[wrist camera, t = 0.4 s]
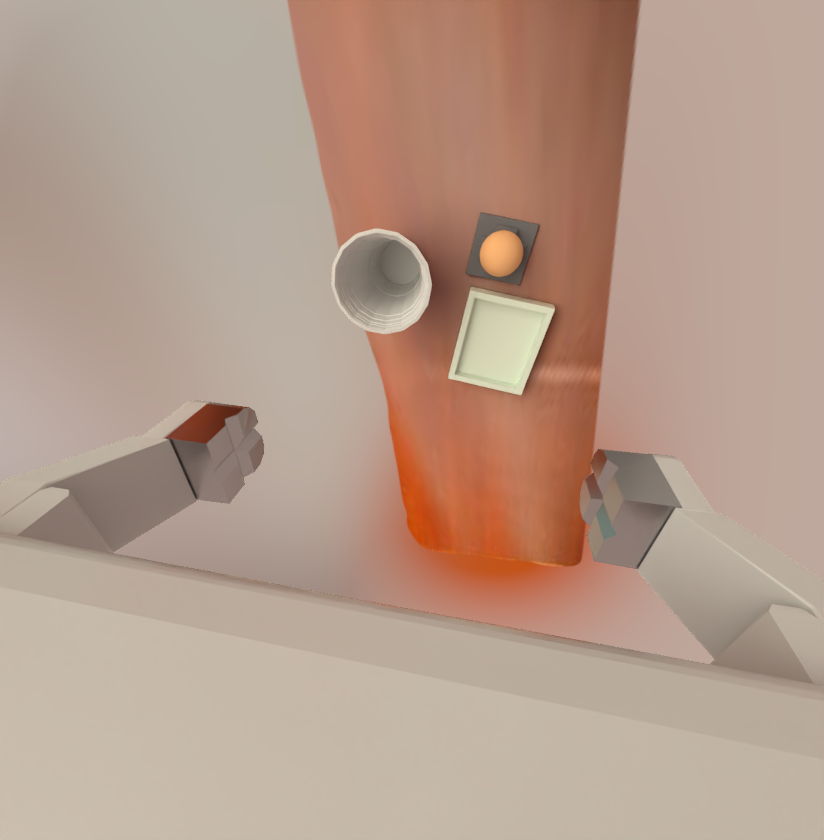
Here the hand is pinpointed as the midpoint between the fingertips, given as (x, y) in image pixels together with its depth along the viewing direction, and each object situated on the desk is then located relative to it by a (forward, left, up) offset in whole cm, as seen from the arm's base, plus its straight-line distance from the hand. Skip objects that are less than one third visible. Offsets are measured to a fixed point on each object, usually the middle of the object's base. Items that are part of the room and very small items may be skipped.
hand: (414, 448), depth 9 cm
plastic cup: (+6, -8, -44) cm, 45 cm away
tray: (+14, +7, -44) cm, 46 cm away
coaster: (+2, +4, -44) cm, 44 cm away
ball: (+2, +4, -44) cm, 44 cm away
